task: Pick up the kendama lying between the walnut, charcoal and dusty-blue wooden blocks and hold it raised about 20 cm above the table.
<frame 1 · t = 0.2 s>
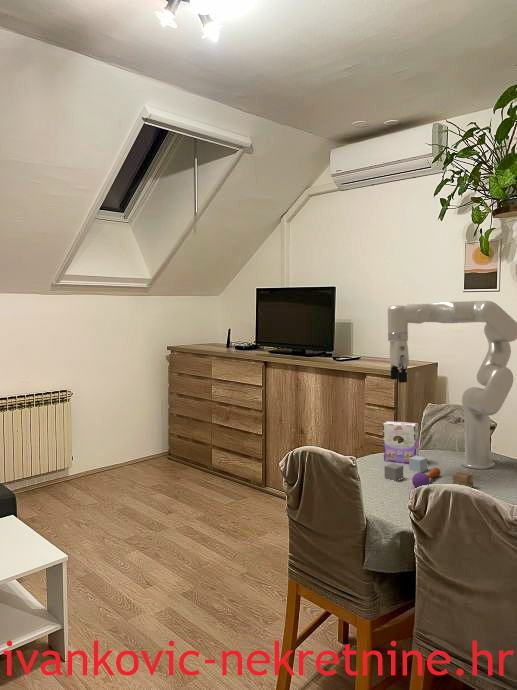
hand: (398, 380, 218), 37 cm above the table, tool pointing down, fingers open, 9 cm apart
dusty blue block: (418, 470, 222), on the table
candy box: (401, 461, 235), on the table
walnut block: (463, 487, 200), on the table
charcoal block: (394, 478, 213), on the table
kendama: (427, 483, 207), on the table
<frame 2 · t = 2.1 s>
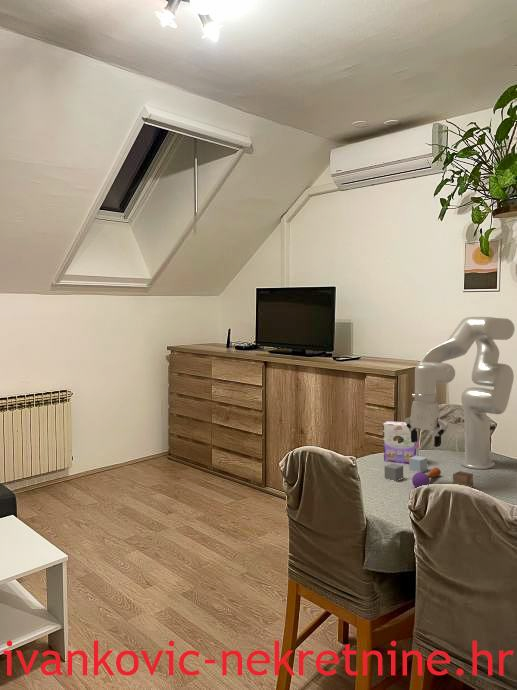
hand: (425, 444, 205), 15 cm above the table, tool pointing down, fingers open, 9 cm apart
nothing on the table moved.
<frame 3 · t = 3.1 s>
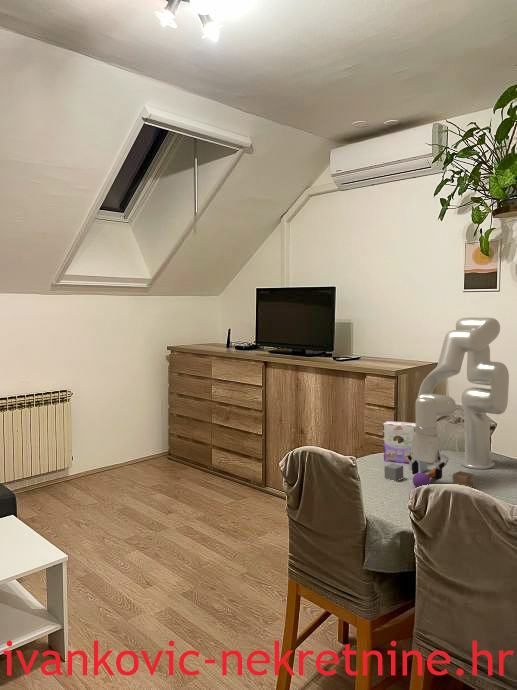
hand: (426, 476, 206), 3 cm above the table, tool pointing down, fingers open, 9 cm apart
nothing on the table moved.
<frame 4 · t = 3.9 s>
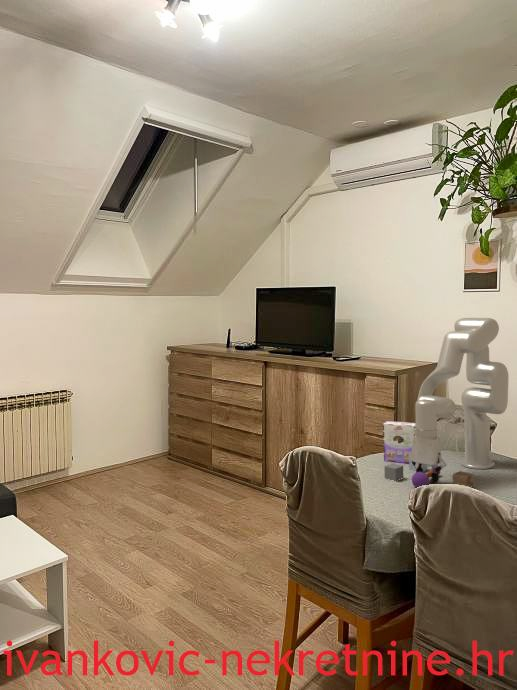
hand: (427, 480, 207), 1 cm above the table, tool pointing down, fingers closed on kendama, 5 cm apart
kendama: (427, 483, 207), on the table, touching gripper
everything else where it was.
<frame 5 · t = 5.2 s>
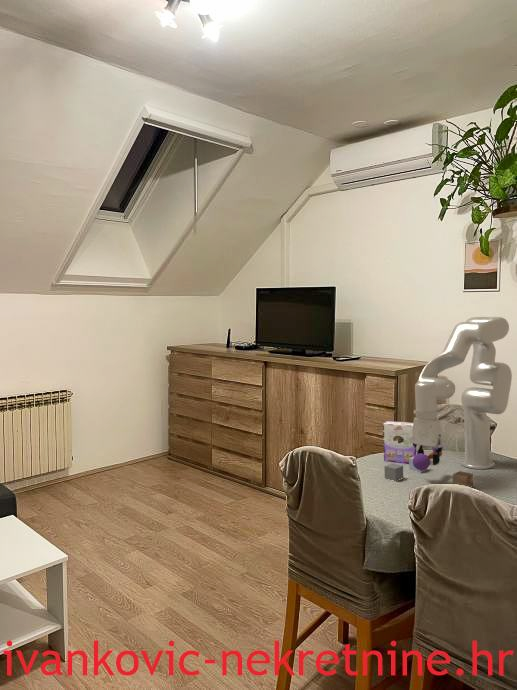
hand: (428, 461, 207), 8 cm above the table, tool pointing down, fingers closed on kendama, 5 cm apart
kendama: (428, 464, 207), point 7 cm above the table, touching gripper
everything else where it was.
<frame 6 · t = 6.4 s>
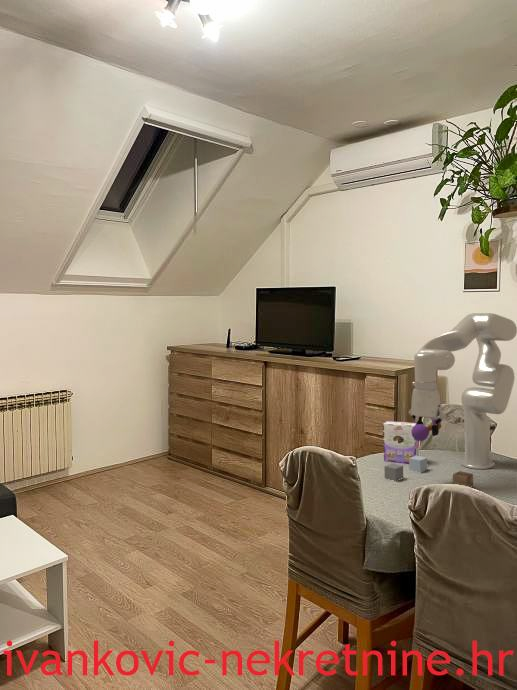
hand: (427, 433, 206), 19 cm above the table, tool pointing down, fingers closed on kendama, 5 cm apart
kendama: (427, 436, 206), point 17 cm above the table, touching gripper
everything else where it was.
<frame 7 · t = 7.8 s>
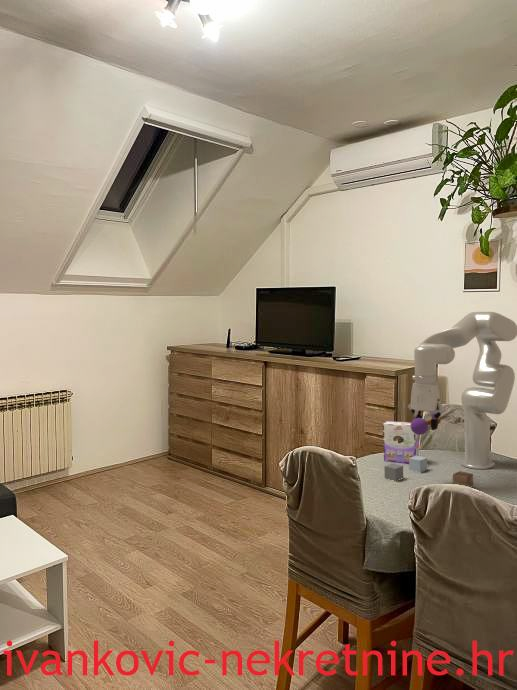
hand: (426, 427, 205), 21 cm above the table, tool pointing down, fingers closed on kendama, 5 cm apart
kendama: (426, 430, 206), point 20 cm above the table, touching gripper
everything else where it was.
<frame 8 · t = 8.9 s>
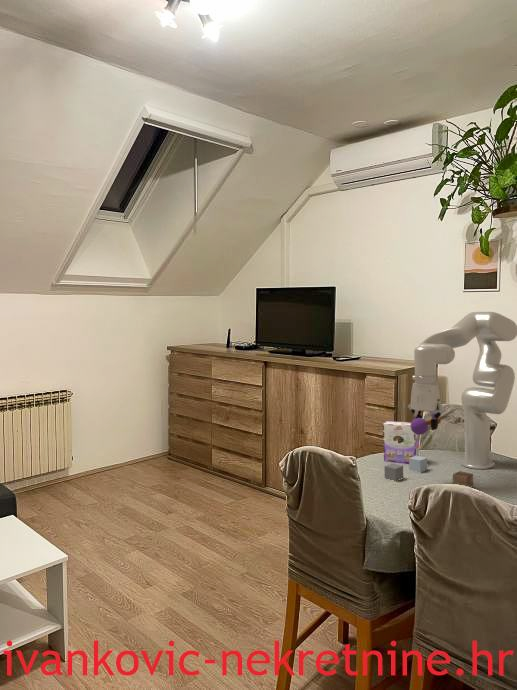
hand: (426, 427, 205), 21 cm above the table, tool pointing down, fingers closed on kendama, 5 cm apart
kendama: (426, 430, 206), point 20 cm above the table, touching gripper
everything else where it was.
at the end: the gripper is holding kendama; kendama point 19.6 cm above the table; walnut block moved 0.1 cm from its start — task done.
